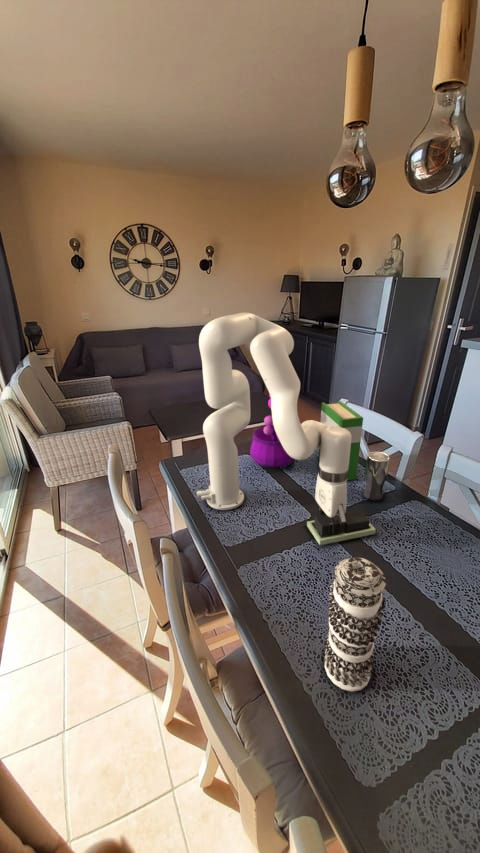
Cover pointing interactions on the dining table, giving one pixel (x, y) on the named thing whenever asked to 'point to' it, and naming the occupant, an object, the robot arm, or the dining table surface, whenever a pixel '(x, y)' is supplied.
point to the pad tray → (340, 536)
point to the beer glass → (376, 474)
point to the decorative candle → (353, 622)
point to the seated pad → (355, 522)
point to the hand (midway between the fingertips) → (329, 527)
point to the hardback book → (349, 420)
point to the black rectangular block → (325, 524)
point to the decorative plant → (269, 446)
